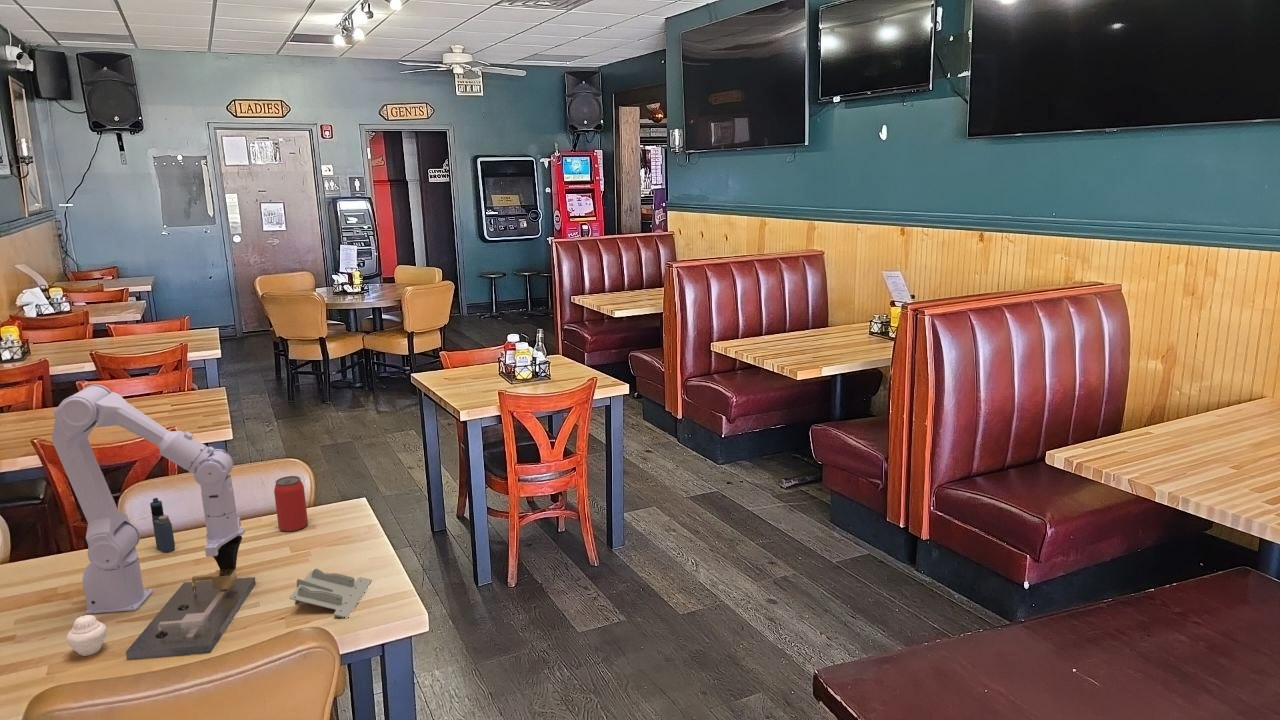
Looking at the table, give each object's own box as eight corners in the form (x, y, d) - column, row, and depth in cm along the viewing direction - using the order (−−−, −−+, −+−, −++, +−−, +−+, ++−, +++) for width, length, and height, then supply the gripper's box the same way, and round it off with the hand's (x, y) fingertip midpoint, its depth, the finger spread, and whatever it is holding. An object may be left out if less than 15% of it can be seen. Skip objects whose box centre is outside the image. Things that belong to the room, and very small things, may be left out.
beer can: (273, 531, 203) (267, 484, 200) (288, 520, 209) (283, 474, 207) (298, 533, 202) (293, 485, 199) (313, 521, 208) (308, 475, 205)
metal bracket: (282, 593, 162) (311, 557, 176) (276, 620, 163) (306, 582, 178) (356, 611, 163) (380, 574, 177) (350, 638, 164) (374, 599, 178)
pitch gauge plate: (126, 659, 151) (123, 636, 150) (185, 589, 176) (181, 569, 175) (210, 652, 152) (206, 629, 151) (255, 583, 177) (253, 563, 176)
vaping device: (166, 544, 197) (158, 495, 195) (177, 549, 194) (169, 500, 192) (154, 548, 195) (146, 499, 193) (165, 554, 192) (158, 504, 190)
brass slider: (190, 594, 169) (187, 578, 169) (195, 587, 172) (193, 571, 172) (232, 591, 170) (230, 575, 170) (237, 583, 173) (235, 568, 172)
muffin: (61, 657, 152) (54, 621, 150) (93, 639, 158) (87, 605, 156) (86, 663, 150) (79, 627, 148) (118, 645, 155) (111, 610, 154)
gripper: (228, 524, 164) (237, 589, 167) (252, 496, 178) (260, 556, 181) (190, 527, 163) (199, 592, 166) (217, 498, 177) (225, 558, 180)
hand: (229, 573), depth 174 cm, fingers closed
